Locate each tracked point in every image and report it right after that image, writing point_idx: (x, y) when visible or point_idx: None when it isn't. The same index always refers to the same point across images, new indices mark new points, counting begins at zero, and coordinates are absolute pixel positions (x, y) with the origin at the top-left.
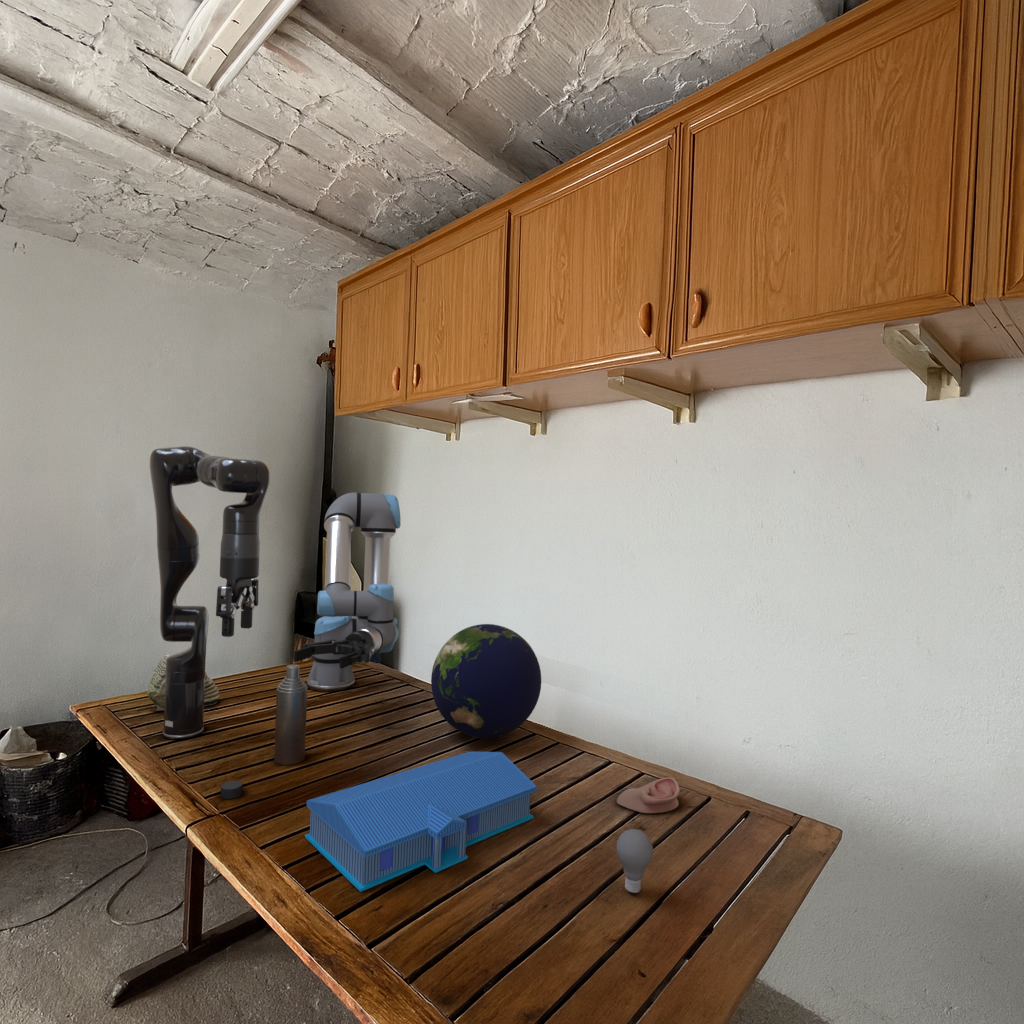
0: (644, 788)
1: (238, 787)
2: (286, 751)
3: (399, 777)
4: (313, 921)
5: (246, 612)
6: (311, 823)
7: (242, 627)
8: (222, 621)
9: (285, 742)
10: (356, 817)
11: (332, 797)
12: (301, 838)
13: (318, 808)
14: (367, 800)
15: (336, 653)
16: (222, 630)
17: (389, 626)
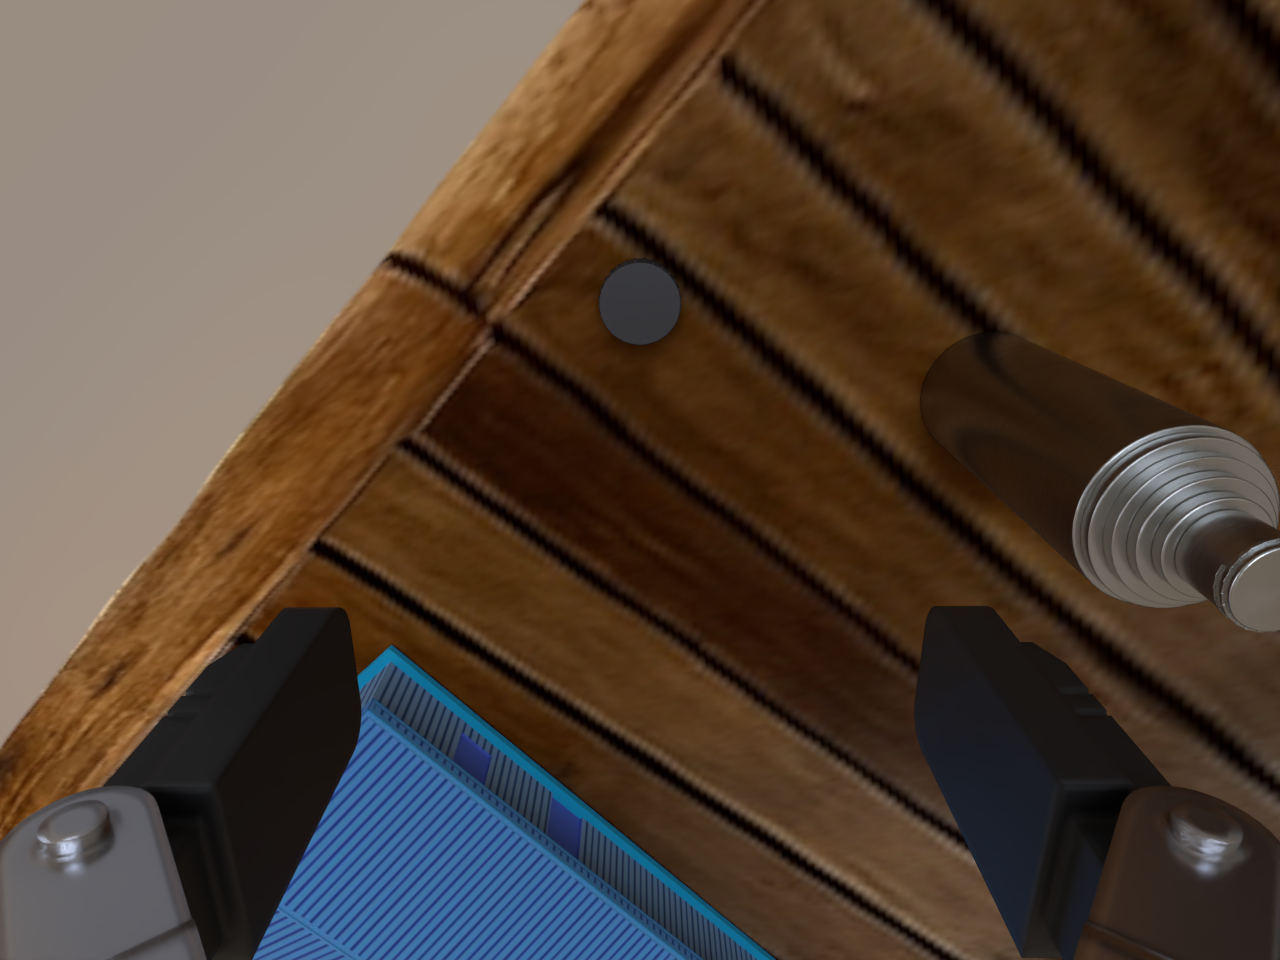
0: None
1: (622, 340)
2: (939, 419)
3: (533, 947)
4: (66, 763)
5: (1031, 858)
6: (372, 689)
7: (927, 627)
8: (110, 783)
9: (954, 426)
10: None
11: (352, 802)
12: (391, 633)
13: None
14: (290, 929)
15: None
16: (199, 684)
17: None
